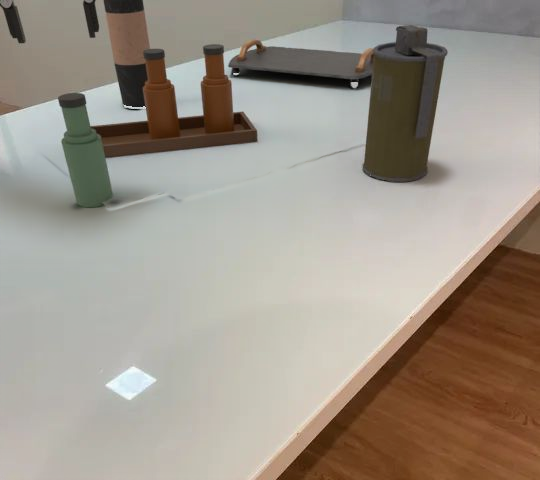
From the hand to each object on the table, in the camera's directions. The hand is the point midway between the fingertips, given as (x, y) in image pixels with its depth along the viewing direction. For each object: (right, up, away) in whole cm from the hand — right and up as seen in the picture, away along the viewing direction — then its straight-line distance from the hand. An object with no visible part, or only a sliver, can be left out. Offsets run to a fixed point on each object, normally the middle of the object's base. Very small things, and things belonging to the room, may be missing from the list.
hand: (57, 39), depth 70 cm
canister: (+47, -10, +20) cm, 52 cm away
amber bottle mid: (+8, 0, +31) cm, 32 cm away
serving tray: (+36, +31, +69) cm, 84 cm away
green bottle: (0, -16, +14) cm, 21 cm away
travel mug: (-1, +15, +51) cm, 53 cm away
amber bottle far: (+17, +2, +33) cm, 38 cm away
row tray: (+8, -1, +32) cm, 33 cm away
